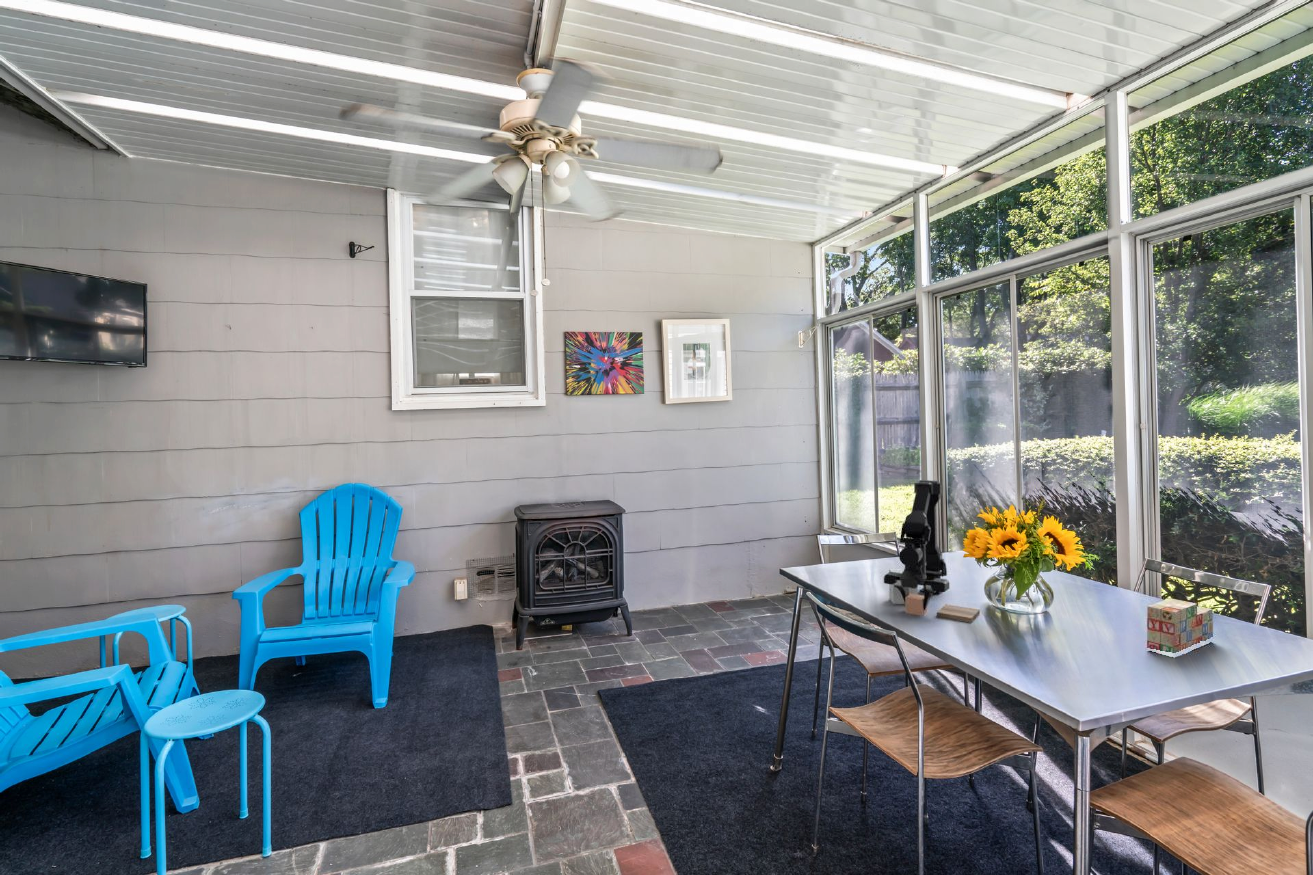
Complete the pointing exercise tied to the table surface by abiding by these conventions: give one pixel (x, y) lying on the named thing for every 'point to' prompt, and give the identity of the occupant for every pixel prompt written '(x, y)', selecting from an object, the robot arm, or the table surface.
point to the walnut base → (958, 613)
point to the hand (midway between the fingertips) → (916, 608)
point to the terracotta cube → (915, 604)
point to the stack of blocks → (1177, 625)
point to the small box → (895, 593)
